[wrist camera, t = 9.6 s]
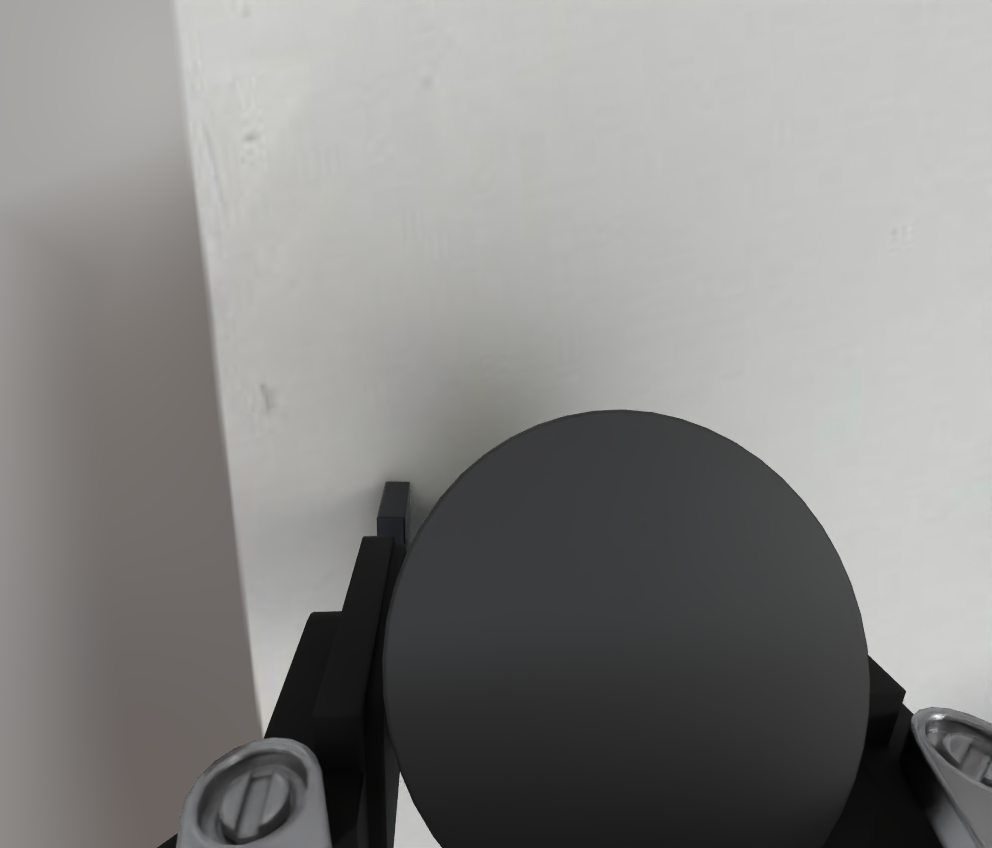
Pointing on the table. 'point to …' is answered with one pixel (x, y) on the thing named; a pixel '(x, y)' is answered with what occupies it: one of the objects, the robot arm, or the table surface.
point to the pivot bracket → (395, 513)
